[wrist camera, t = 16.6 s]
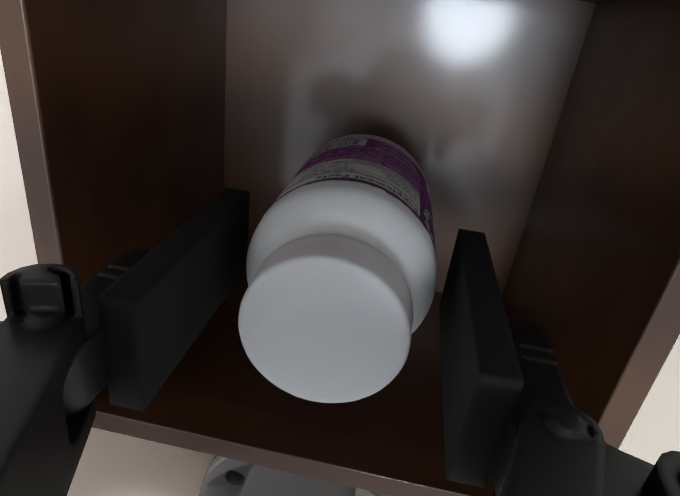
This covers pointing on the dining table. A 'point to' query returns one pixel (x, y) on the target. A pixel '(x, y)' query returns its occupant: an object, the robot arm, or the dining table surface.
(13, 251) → the dining table surface
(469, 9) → the bin
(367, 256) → the pill bottle
